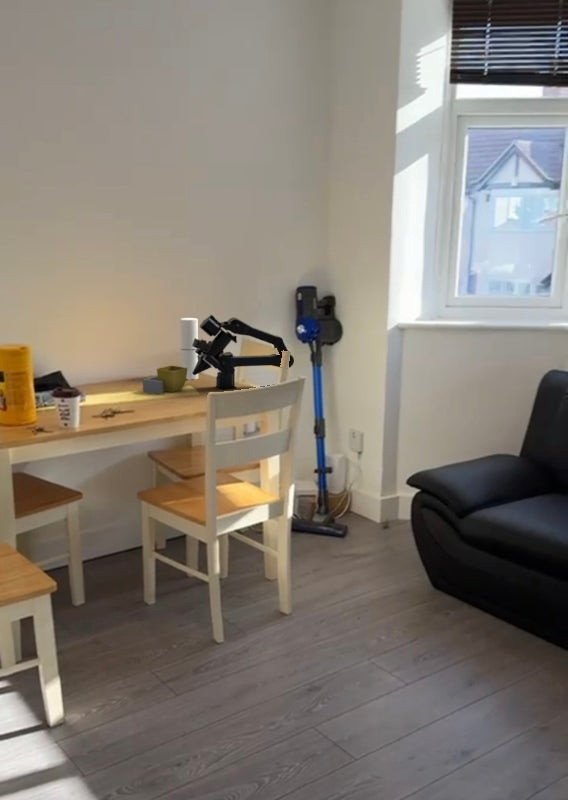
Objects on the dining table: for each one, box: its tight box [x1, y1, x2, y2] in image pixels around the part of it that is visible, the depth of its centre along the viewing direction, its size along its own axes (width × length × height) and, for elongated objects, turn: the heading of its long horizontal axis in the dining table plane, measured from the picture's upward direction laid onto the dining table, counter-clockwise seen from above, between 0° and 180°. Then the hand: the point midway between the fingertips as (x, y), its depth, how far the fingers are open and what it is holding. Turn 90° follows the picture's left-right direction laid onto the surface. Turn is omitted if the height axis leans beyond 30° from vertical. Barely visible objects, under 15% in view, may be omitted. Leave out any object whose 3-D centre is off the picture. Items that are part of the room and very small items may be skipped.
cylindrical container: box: [180, 317, 199, 381], centre depth 323 cm, size 7×7×25 cm
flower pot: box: [156, 364, 187, 393], centre depth 301 cm, size 9×9×9 cm
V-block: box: [142, 375, 164, 395], centre depth 299 cm, size 7×12×5 cm, turn 18°
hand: (193, 374), depth 303 cm, fingers closed
